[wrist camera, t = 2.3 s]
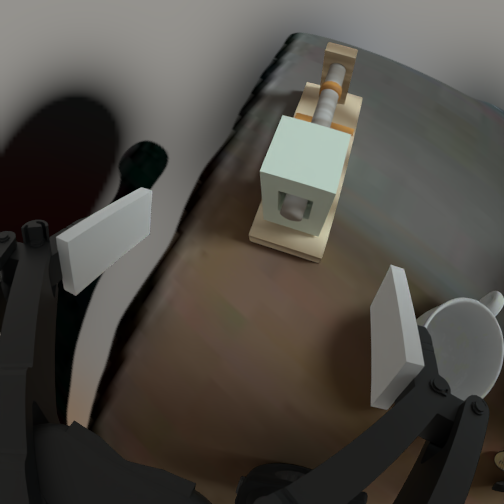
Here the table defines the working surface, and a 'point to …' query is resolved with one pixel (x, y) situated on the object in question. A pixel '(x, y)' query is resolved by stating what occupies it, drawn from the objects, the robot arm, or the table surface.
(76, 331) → the table surface
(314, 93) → the lead screw slider
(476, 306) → the teacup
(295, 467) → the controller
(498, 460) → the clutch purse
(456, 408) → the robot arm
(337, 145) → the sleeve
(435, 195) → the table surface
